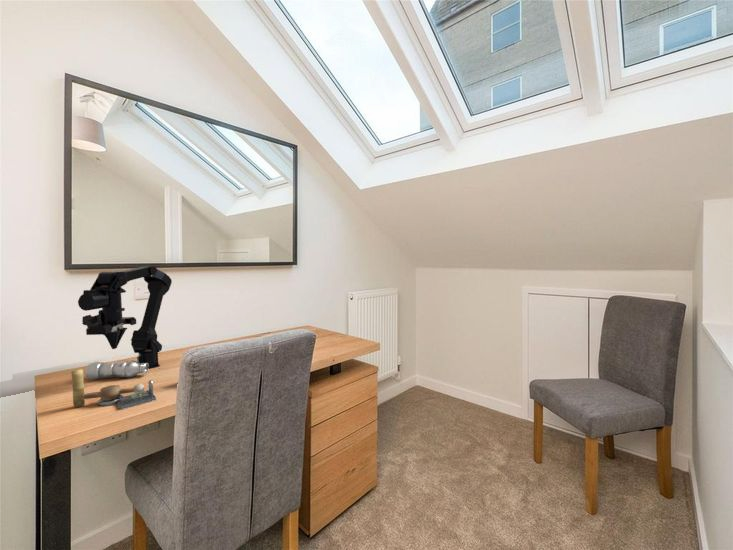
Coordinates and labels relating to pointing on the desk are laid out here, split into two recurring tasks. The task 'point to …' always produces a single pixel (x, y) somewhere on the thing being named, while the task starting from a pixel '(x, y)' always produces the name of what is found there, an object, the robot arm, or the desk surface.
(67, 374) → the desk surface
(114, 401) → the level stand
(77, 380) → the tan piece
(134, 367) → the plastic bottle
